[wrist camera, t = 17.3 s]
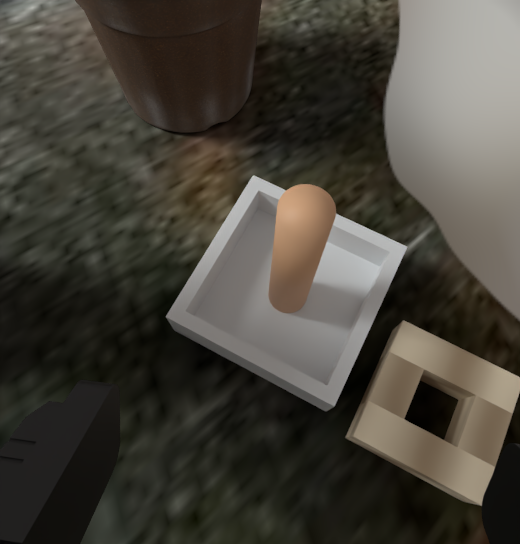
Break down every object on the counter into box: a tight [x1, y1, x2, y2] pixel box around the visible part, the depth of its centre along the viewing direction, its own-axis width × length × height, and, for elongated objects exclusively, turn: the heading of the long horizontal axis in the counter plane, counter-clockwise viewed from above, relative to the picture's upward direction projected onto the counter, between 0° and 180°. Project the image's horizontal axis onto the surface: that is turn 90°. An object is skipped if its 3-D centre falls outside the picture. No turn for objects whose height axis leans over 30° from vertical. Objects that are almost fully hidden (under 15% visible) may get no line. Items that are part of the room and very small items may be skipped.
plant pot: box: [75, 0, 262, 133], centre depth 39 cm, size 16×16×16 cm
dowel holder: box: [345, 320, 520, 506], centre depth 34 cm, size 9×9×3 cm
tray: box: [166, 175, 407, 411], centre depth 37 cm, size 13×13×4 cm
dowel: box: [268, 184, 336, 313], centre depth 31 cm, size 3×3×14 cm
